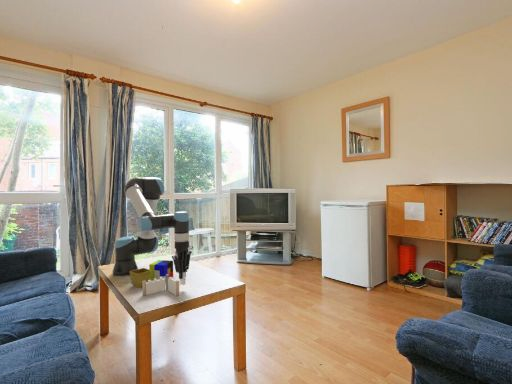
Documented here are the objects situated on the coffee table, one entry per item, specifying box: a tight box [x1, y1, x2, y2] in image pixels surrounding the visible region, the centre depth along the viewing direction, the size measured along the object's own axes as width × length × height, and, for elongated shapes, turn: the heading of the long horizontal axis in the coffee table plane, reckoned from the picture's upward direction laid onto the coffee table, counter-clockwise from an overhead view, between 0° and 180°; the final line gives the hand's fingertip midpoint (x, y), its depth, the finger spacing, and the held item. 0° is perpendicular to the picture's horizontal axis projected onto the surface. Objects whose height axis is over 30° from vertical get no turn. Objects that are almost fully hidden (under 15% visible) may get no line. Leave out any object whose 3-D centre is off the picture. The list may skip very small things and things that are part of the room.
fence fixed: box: [141, 274, 169, 297], centre depth 143 cm, size 14×2×8 cm, turn 131°
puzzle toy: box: [148, 259, 174, 281], centre depth 166 cm, size 10×10×10 cm
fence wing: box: [167, 276, 180, 297], centre depth 141 cm, size 12×2×7 cm, turn 41°
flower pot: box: [129, 267, 151, 288], centre depth 153 cm, size 9×9×9 cm
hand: (182, 284), depth 145 cm, fingers closed
